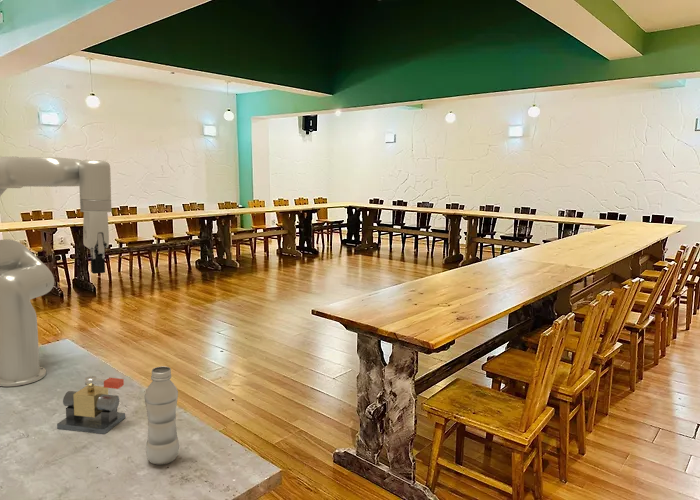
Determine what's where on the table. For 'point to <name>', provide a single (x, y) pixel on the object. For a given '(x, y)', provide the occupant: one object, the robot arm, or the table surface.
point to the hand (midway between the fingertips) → (98, 272)
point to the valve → (91, 410)
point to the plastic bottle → (161, 417)
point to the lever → (105, 382)
